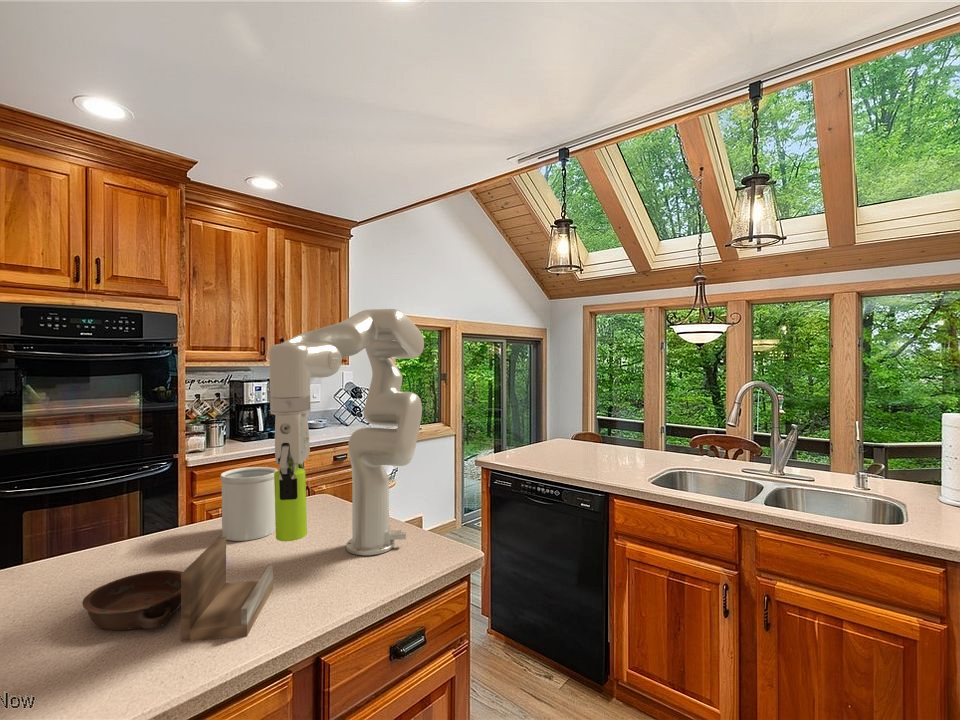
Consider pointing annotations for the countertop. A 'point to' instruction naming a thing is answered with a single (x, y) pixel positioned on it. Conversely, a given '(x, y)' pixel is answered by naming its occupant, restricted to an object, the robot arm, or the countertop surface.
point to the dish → (135, 601)
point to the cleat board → (219, 598)
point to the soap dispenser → (291, 509)
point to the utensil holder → (248, 503)
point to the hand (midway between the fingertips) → (292, 493)
